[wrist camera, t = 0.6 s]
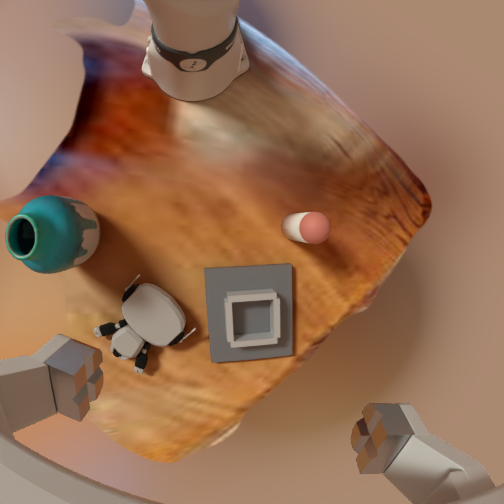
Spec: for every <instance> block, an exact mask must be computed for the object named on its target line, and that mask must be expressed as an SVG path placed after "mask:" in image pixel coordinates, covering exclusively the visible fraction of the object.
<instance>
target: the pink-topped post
mask: <svg viewBox="0 0 504 504" xmlns="http://www.w3.org/2000/svg"><path fill="white" fill-rule="evenodd" d="M281 229H282V233H283V234H284V236H285V237H286V238H288V239H290V240H294V241H299V242H304V243H310V244H319V243H322V242H324V241H325V240H326V239H327V238H328V236H329V234H330V231H331V226H330V222H329V220H328V218H327V217H326V216H325V215H323V214H322V213H319V212H306V213H296V214H290V215H288V216H286V217H285V218H284V219H283V221H282V224H281Z"/></svg>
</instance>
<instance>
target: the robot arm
mask: <svg viewBox="0 0 504 504" xmlns="http://www.w3.org/2000/svg"><path fill="white" fill-rule="evenodd" d="M143 1H144V2H145V4H146V6H147V8H148V11H149V13H150V16H151V20H152V23H151V33H152V34H151V36H149V37H148V44H150V45H149V47H148V48H147V50H146V52H147V54H146V57H145V59H144V62H143V65H142V73H143V74H144V75H145V76H147V77H149V78H151V79H153V80H155V81H156V82H157V84H158V85H159V86H160V88H161V89H162V90H163V91H164V92H165V93H167V94H168V95H170V96H172V97H174V98H176V99H180V100H184V101H200V100H205V99H209V98H211V97H214V96H216V95H218V94H219V93H221V92H222V91H224V90H225V89H226V88H227V87H228V86H229V85H230V84H231V82H232V81H233V80H234V79H235V78H236V77H237V76H239V75H241V74H243V73H244V72H246V71H247V70H248V69H249V60H248V57H247V53H246V50H245V46H244V43H243V39H242V36H241V33H240V29H239V26H238V21H237V16H236V15H237V10H238V5H239V0H143ZM241 59H243V61H241ZM102 362H103V358H102V352H101V350H100V349H98V348H95V347H92V346H90V345H87V344H85V343H82V342H80V341H77V340H75V339H72V338H70V337H67V336H65V335H62V334H57V335H55V336H54V337H53V338H52V339H51V340H49V341H48V342H47V343H46V344H45V345H44V346H42V347H41V348H40V349H39V350H38V351H37V352H35V353H34V354H33V355H32V356H31V357H30V356H27V355H25V356H19V357H14V358H9V359H3V360H0V504H163V503H159V502H156V501H152V500H149V499H145V498H142V497H139V496H136V495H132V494H130V493H127V492H124V491H121V490H118V489H115V488H112V487H110V486H107V485H104V484H102V483H100V482H97V481H95V480H92V479H90V478H88V477H85V476H83V475H80V474H78V473H76V472H74V471H72V470H70V469H68V468H66V467H64V466H62V465H59V464H57V463H56V462H54V461H52V460H50V459H48V458H46V457H44V456H42V455H40V454H39V453H37V452H35V451H33V450H31V449H30V448H28V447H26V446H24V445H23V444H21V443H20V442H18V441H16V440H15V438H14V436H13V432H16V431H18V430H20V429H23V428H25V427H27V426H30V425H32V424H34V423H36V422H39V421H41V420H43V419H45V418H48V417H50V416H52V415H54V414H57V412H58V413H61V414H63V415H65V416H67V417H70V418H72V419H75V420H77V421H79V422H81V421H82V420H83V418H84V417H85V415H86V414H87V412H88V411H89V410H90V404H89V402H92V401H94V400H96V399H97V398H98V396H99V395H100V392H101V389H102V386H103V372H102V370H101V369H100V367H99V365H100V364H101V363H102ZM362 414H363V418H362V419H360V420H359V421H357V422H356V424H355V426H354V428H353V430H352V435H351V444H352V448H353V450H355V451H356V452H357V453H358V456H357V458H356V462H357V465H358V468H359V471H360V474H379V473H384V474H383V475H384V476H385V477H386V478H387V479H388V480H389V481H390V482H391V483H392V484H393V485H394V486H395V487H396V488H397V489H398V490H399V491H400V492H401V493H402V494H403V495H404V496H405V497H407V498H408V499H409V500H410V501H411V502H412V503H413V504H504V484H502V485H499V486H497V487H495V485H494V483H493V482H492V480H491V478H490V477H489V475H488V474H487V472H486V470H485V469H484V467H483V465H482V464H481V463H479V462H477V461H476V460H474V459H472V458H471V457H469V456H467V455H466V454H464V453H463V452H461V451H459V450H458V449H456V448H455V447H453V446H451V445H450V444H448V443H446V442H445V441H443V440H442V439H440V438H439V437H437V436H436V435H434V434H429V433H428V431H427V430H426V428H425V426H424V424H423V423H422V421H421V419H420V418H419V416H418V414H417V413H416V411H415V409H414V408H413V406H412V405H411V404H409V403H395V404H392V403H368V404H367V405H366V406H365V407H364V409H363V411H362Z"/></svg>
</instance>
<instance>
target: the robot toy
mask: <svg viewBox="0 0 504 504" xmlns="http://www.w3.org/2000/svg"><path fill="white" fill-rule="evenodd" d="M139 276H140V274H139V275H138V276H137V277H136V278H135V279H134V280H133V282H134V281H135V280H136V279H137V278H138V277H139ZM133 282H132V283H131V284H130V285H129V286H128V287H126V289H125V291H126V292H125V293H124V295H123V298H122V301H123V305H122V313H123V316H124V318H125V319H124V320H120V321H119V323H118V324H114V323H107V324H104V325H101V326H100V327H96V328H94V331H93V332H98V333H96V334H95V336H96V337H101V336H106V335H109V334H112V333H114V332H115V330H116V329H117V328H119V329H118V330H117V331H116V332H115V334H114V335H113V337H112V344H111V347H110V349H111V351H112V352H113V354H114V355H115V356H116V357H119V356H120V357H119V359H121V360H125V359H128V358H134V357H136V356H137V358H136V362H135V367H134V371H135V372H136V373H138V370H139V371H140V372H139V374H143V373H144V368H145V367H146V364H147V360H148V357H147V353H146V351H147V350H149V348H150V345H151V344H153V345H155V346H160V347H164V346H166V345H170V346H172V345H174V344H177V343H178V342H180V343H181V342H182V341H183V339H185V338H186V337H187V336H188V335H190V334H191V333H192V332H194V331H195V330H196V328H194V329H193V330H192V331H191V332H189V333H188V334H187V335H186V336H185V337H183V336H184V333H185V328H184V326H185V323H186V319H185V315H184V313H183V311H182V309H181V308H180V306H179V305H178V303H177V302H176V301H175V300H174V298H173V297H172V296H171V295H169V294H168V293H167V292H165V291H164V290H163V289H161V288H159V287H158V286H156V285H154V284H150V283H144V284H141V285H139V284H135V285H132V284H133ZM131 285H132V286H131ZM130 286H131V287H130ZM129 287H130V288H129ZM142 348H143V349H142ZM114 349H115V350H114ZM141 349H142V352H141V353H139V352H140V350H141ZM138 353H139V354H138ZM137 354H138V355H137Z"/></svg>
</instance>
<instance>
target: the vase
mask: <svg viewBox="0 0 504 504" xmlns="http://www.w3.org/2000/svg"><path fill="white" fill-rule="evenodd" d="M100 237H101V227H100V222H99V219H98V217H97V215H96V213H95V212H94V211H93V210H92V209H91V207H89V206H88V205H87V204H85V203H83V202H81V201H79V200H76V199H73V198H70V197H64V196H55V195H50V196H41V197H38V198H35V199H33V200H31V201H30V202H28V203H27V204H26V205H25V206H24V207H23V208H22V209H21V211H20V212H19V214H17V215H15V216H14V217H13V218H12V219H11V220H10V222H9V223H8V225H7V228H6V233H5V241H6V245H7V248H8V250H9V252H10V254H11V255H12V256H13V257H15V258H16V259H18V260H21V261H22V262H23V263H24V264H25V265H26V266H27V267H28V268H30V269H31V270H33V271H35V272H38V273H45V274H47V273H48V274H51V273H57V272H62V271H65V270H68V269H71V268H73V267H76V266H78V265H80V264H82V263H83V262H85V261H86V260H88V259H89V258H90V257H91V256H92V255H93V254H94V252H95V251H96V249H97V247H98V245H99V242H100Z"/></svg>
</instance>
